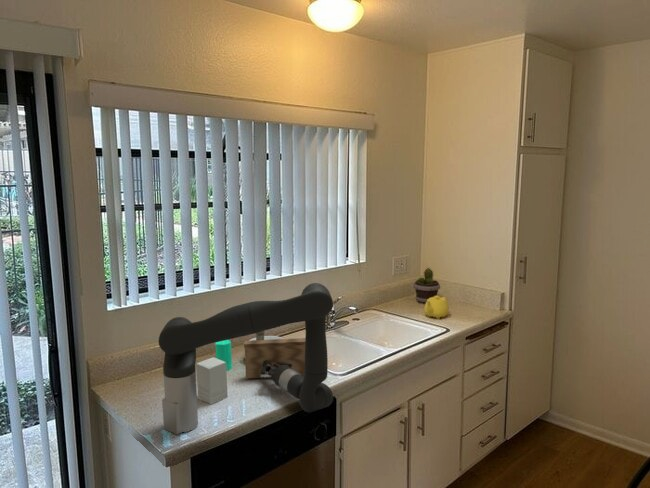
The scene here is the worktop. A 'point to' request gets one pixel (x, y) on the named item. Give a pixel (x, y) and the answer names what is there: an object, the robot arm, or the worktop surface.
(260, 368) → the gate
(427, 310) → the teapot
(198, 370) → the supplement box
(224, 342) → the candle
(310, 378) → the robot arm
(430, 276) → the flowerpot
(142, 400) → the worktop surface
